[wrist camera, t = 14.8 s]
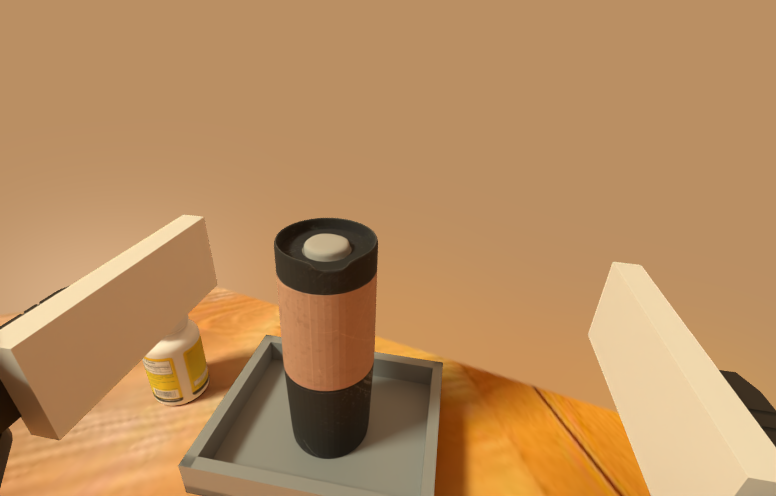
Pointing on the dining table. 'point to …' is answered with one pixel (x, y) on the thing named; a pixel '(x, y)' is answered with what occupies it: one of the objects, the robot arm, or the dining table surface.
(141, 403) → the dining table surface
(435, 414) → the tray
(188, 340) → the supplement bottle
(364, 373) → the travel mug
